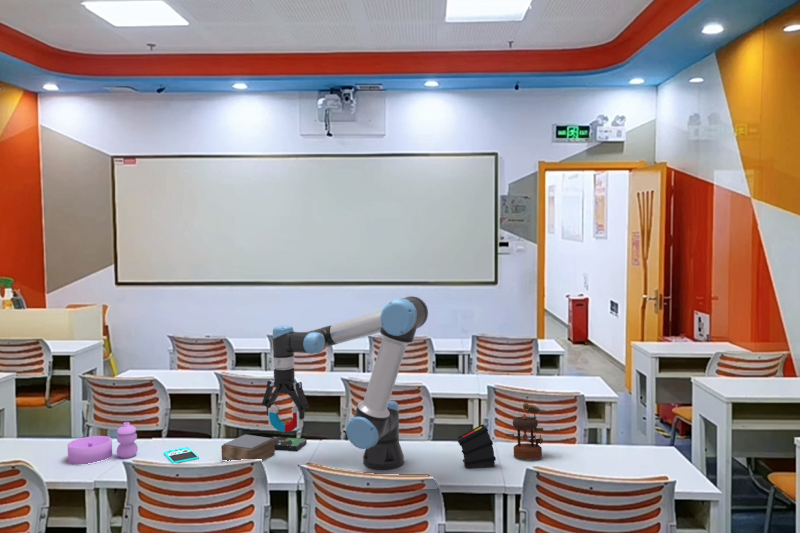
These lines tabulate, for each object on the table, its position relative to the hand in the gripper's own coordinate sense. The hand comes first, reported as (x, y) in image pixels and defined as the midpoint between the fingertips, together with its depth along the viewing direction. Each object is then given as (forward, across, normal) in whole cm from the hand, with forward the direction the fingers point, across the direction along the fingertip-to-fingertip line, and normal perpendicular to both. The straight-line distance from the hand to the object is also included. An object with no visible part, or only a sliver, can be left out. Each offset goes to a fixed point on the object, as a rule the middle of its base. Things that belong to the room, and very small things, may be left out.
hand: (285, 426), depth 233 cm
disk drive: (+15, -12, +17) cm, 26 cm away
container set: (+13, -70, -21) cm, 75 cm away
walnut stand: (+14, -18, 0) cm, 22 cm away
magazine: (+15, +66, +24) cm, 71 cm away
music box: (+15, +80, +41) cm, 91 cm away
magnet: (+2, 0, 0) cm, 2 cm away
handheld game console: (+14, -44, -8) cm, 47 cm away
